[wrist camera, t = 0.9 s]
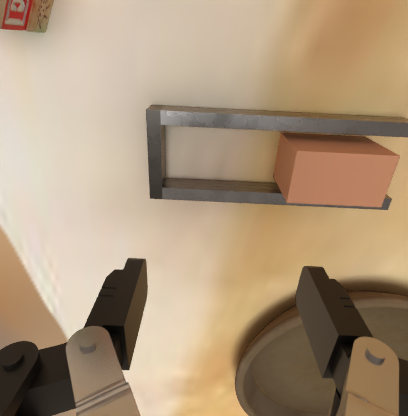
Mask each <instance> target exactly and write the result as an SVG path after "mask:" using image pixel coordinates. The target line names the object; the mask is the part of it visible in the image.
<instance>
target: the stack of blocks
mask: <svg viewBox="0 0 408 416" xmlns="http://www.w3.org/2000/svg"><path fill="white" fill-rule="evenodd" d="M53 1H54V0H0V29H8V30H26V31H31V32H46V28H47V24H48V20H49V16H50V13H51V9H52V5H53Z"/></svg>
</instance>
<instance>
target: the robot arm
mask: <svg viewBox="0 0 408 416" xmlns="http://www.w3.org/2000/svg"><path fill="white" fill-rule="evenodd" d="M147 290H148V285H147V267H146V259H137V258H128V259H127V261H126V264H125V267H124V269H123V270H114V271H113V272H112V273H110V274H109V275H108V276H107V277H106V279H105V281H104V283H103V286H102V289H101V290H100V292H99V295H98V297H97V299H96V301H95V304H94V306H93V308H92V310H91V313H90V315H89V317H88V319H87V322H86V324H85V326H84V328H83V329H81V330H79V331H77V332H76V333H75V334H73V335H72V336H71V338H70V339H69V341H68V342H66V343H64V344H61V345H57V346H53V347H49V348H45V349H41V350H38V348H37V346H36V345H35V344H34V343H32V342H28V341H21V342H16V343H13V344H10V345H8V346H6V347H4V348H3V349H1V350H0V416H52V415H55V414H58V413H61V412H65V411H68V410H71V409H76V415H77V416H140V413H139V410H138V407H137V405H136V402H135V399H134V396H133V393H132V390H131V388H130V385H129V383H128V382H127V383H126V381H125V378H124V375H123V372H122V370H129V369H130V364H131V360H132V356H133V352H134V348H135V344H136V340H137V336H138V332H139V328H140V324H141V320H142V315H143V311H144V307H145V303H146V299H147ZM296 304H297V308H298V311H299V314H300V317H301V319H302V322H303V325H304V328H305V331H306V334H307V336H308V339H309V342H310V345H311V348H312V351H313V353H314V356H315V359H316V362H317V365H318V367H319V370H320V373H321V376H322V378H331V379H333V380H334V382H335V385H336V386H335V388H334V391H333V396H332V401H331V406H330V410H329V415H328V416H408V361H407V360H403V359H401V358H398V357H397V356H396V354H395V353H394V352H393V350H392V349H391V348H390V347H388V346H387V345H386V344H385V343H383V342H381V341H379V340H377V339H375V338H374V337H373V336H372V334H371V332H370V330H369V329H368V327H367V325H366V324H365V322H364V320H363V319H362V317H361V315H360V313H359V312H358V310H357V308H355V305H354V303H353V301H352V300H350V296H349V295H348V293H347V291H346V289H345V288H344V287H343V286H342V285H341V284H340V283H339V282H337V281H336V280H335V279H329V277H328V275H327V274H326V272H325V270H324V268H323V267H314V266H304V267H303V269H302V272H301V276H300V280H299V284H298V288H297V292H296Z"/></svg>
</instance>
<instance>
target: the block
mask: <svg viewBox="0 0 408 416" xmlns="http://www.w3.org/2000/svg"><path fill="white" fill-rule="evenodd" d="M399 158H400V156H399V155H397V154H396V153H394V152H392V151H390V150H388V149H387V148H385V147H383V146H381V145H379V144H378V143H376V142H374V141H372V140H370V139H368V138H367V137H365V136H346V135H326V134H306V133H285V132H281V134H280V140H279V146H278V152H277V158H276V164H275V170H274V176H273V177H274V179H275V181H276V183H277V185H278V187H279V189H280V191H281V192H282V194H283V196H284V198H285V200H286V202H287V203H301V204H322V205H343V206H363V207H381V206H382V204H383V201H384V198H385V196H386V193H387V190H388V187H389V185H390V182H391V179H392V177H393V174H394V171H395V169H396V166H397V163H398V160H399Z"/></svg>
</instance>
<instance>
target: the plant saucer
mask: <svg viewBox="0 0 408 416" xmlns="http://www.w3.org/2000/svg"><path fill="white" fill-rule="evenodd" d="M347 293H348V295H349V296H350V300H352V301H353V303H354V305H355V308H357V310H358V312H359V313H360V315H361V317H362V319H363V320H364V322H365V324H366V325H367V327H368V329H369V330H370V332H371V334H372V336H373V337H374V338H375V339H377V340H379V341H381V342H383V343H385V344H386V345H387V346H388V347H390V348H391V349H392V350H393V352H394V353H395V354H396V356H397V357H398V358H401V359H403V360H407V361H408V296H403V295H397V294H388V293H383V292H374V291H350V292H347ZM335 386H336V385H335V382H334V380H333V379H331V378H322V376H321V373H320V370H319V367H318V365H317V362H316V359H315V356H314V353H313V351H312V348H311V345H310V342H309V339H308V336H307V334H306V331H305V328H304V325H303V322H302V319H301V317H300V314H299V311H298V308H297V306H295V307H292V308H291V309H289V310H287V311H285V312H284V313H282V314H281V315H279V316H278V317H276V318H275V319H274V320H273V321H271V322H270V323H269V324H268V325H267V326H266V327H265V328H264V329H263V330H262V331H261V333H259V334H258V335H257V336H256V338H255V339H254V340H253V341H252V342H251V343H250V345H249V346H248V348H247V349H246V351H245V353H244V355H243V357H242V358H241V361H240V363H239V365H238V368H237V372H236V378H235V390H236V395H237V398H238V401H239V403H240V405H241V407H242V408H243V410H244V411H245V412H246V413H247V414H248V415H249V416H328V415H329V410H330V406H331V401H332V396H333V391H334V388H335Z"/></svg>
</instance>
